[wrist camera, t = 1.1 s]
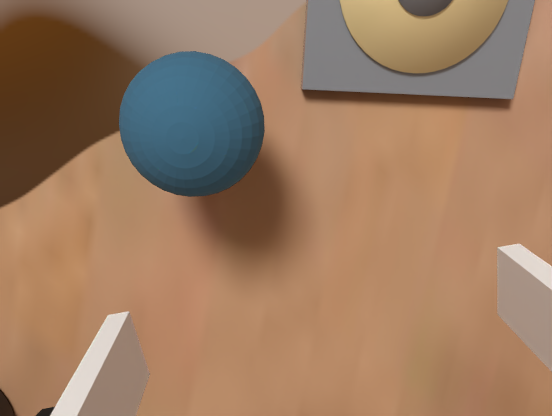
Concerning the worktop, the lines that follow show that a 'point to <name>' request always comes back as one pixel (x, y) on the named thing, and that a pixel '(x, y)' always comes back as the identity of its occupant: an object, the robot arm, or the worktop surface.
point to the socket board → (415, 46)
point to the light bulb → (191, 124)
